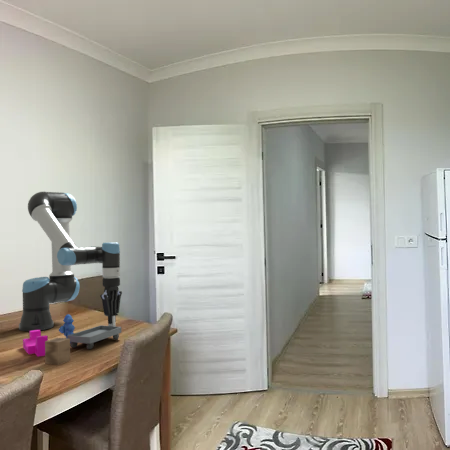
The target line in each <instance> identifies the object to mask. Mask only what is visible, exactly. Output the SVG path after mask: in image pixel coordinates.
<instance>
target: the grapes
mask: <svg viewBox="0 0 450 450" xmlns="http://www.w3.org/2000/svg"><path fill="white" fill-rule="evenodd" d="M62 321H63V322H64V323H63V325H61V326H60V327H59V328H58V332H59V333H60V334H63V335H64V338H67V339H68V335H71V334H74V333H75V332H74V331H75V329H76V327H75V325H74V324H73V322H75V320H74V319H73V316H72V315H71V314H69V313H67V314H66V315H65V316H64V317H63V320H62ZM70 344H71V342H70Z"/></svg>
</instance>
